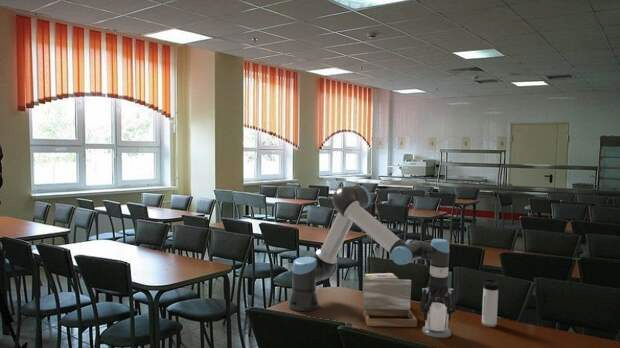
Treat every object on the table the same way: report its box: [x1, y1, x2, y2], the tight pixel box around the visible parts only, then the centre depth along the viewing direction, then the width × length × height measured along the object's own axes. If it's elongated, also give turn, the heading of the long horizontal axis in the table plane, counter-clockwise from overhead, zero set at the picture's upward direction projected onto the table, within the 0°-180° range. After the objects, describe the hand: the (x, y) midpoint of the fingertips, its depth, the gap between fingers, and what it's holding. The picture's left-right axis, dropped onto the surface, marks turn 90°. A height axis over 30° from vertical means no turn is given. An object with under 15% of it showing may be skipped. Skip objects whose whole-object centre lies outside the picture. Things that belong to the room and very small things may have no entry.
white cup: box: [428, 302, 447, 331], centre depth 200 cm, size 8×8×10 cm
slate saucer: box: [421, 325, 452, 339], centre depth 201 cm, size 12×12×1 cm
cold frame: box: [362, 278, 418, 328], centre depth 213 cm, size 15×22×17 cm
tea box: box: [364, 272, 399, 280], centre depth 235 cm, size 15×10×15 cm
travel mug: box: [481, 278, 499, 328], centre depth 211 cm, size 6×7×20 cm
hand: (436, 327), depth 201 cm, fingers closed on white cup, 7 cm apart
